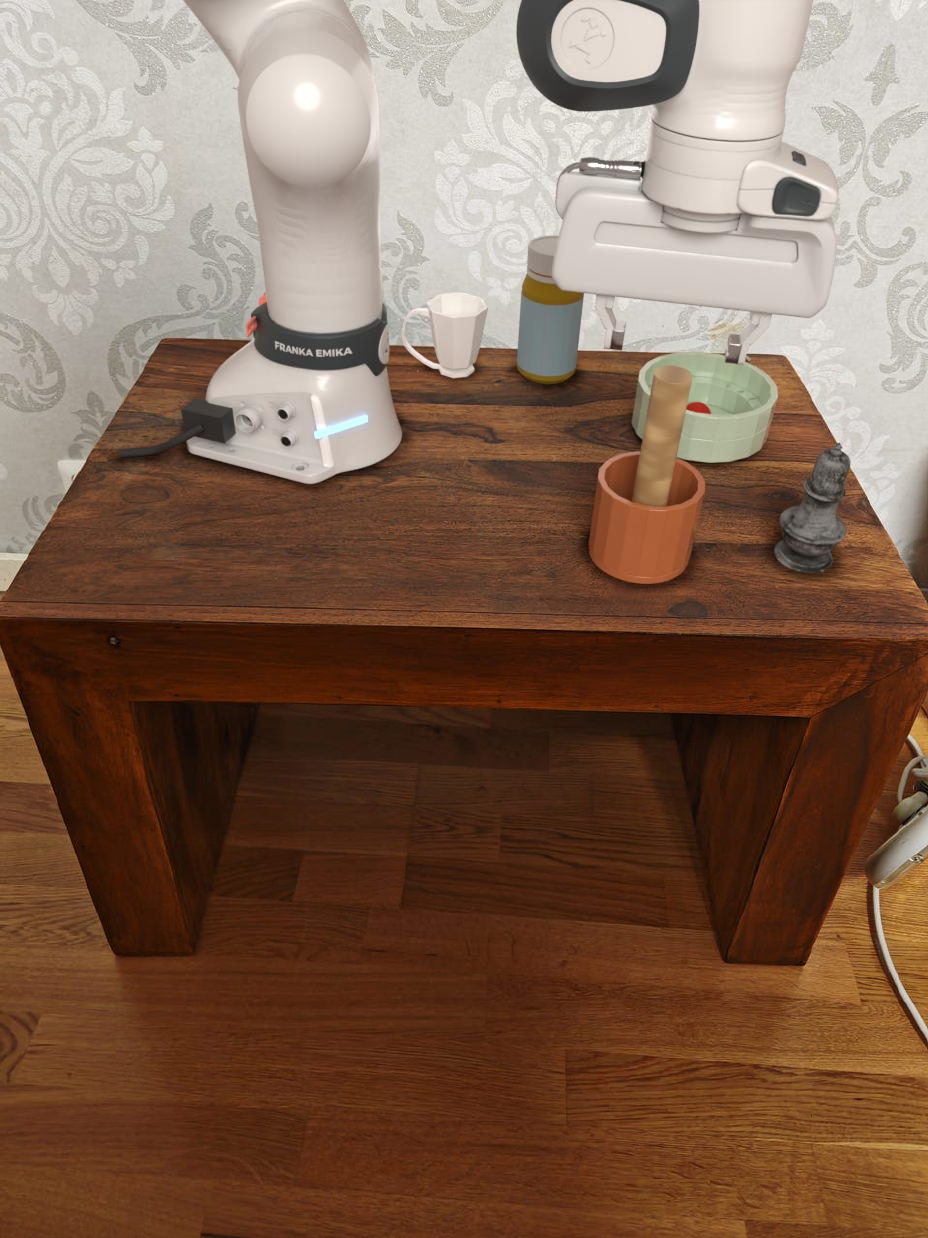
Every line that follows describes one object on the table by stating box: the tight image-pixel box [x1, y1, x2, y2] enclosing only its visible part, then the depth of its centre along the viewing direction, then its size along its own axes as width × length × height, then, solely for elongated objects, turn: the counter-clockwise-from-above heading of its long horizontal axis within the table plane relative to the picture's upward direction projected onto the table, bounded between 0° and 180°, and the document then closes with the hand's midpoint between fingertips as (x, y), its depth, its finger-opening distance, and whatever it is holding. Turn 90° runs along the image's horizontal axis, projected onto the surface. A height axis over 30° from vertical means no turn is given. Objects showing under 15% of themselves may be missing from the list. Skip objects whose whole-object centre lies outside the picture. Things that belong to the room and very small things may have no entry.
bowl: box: [631, 351, 779, 464], centre depth 104 cm, size 14×14×6 cm
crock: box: [587, 450, 706, 585], centre depth 87 cm, size 9×9×8 cm
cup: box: [400, 291, 489, 379], centre depth 113 cm, size 7×10×8 cm
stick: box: [632, 366, 693, 507], centre depth 82 cm, size 3×3×18 cm
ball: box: [686, 402, 711, 414], centre depth 103 cm, size 3×3×3 cm
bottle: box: [516, 235, 585, 385], centre depth 110 cm, size 7×7×15 cm
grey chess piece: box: [773, 442, 852, 574], centre depth 86 cm, size 6×6×12 cm
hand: (673, 353), depth 76 cm, fingers open, 8 cm apart
